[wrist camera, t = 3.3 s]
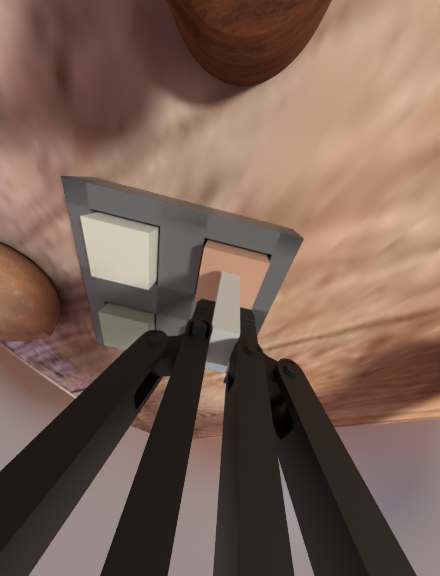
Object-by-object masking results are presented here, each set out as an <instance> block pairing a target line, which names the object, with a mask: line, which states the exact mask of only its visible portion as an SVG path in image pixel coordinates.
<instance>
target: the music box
mask: <svg viewBox="0 0 440 576" xmlns="http://www.w3.org/2000/svg"><path fill="white" fill-rule="evenodd" d="M167 1H168V3H169V6H170V8H171V11H172V13H173V16H174V18H175V21H176V23H177V26H178V28H179V31H180V33H181V35H182V37H183V40H184V41H185V43H186V45H187V47H188V49H189V50H190V52H191V53H192V55H193V56H194V58H195V59H196V60H197V61H198V63H199V64H200V65H201V66H202V67H203V68H204V69H205V70H206V71H207V72H208V73H210V74H211V75H212V76H214V77H215V78H217V79H219V80H221V81H223V82H225V83H228V84H232V85H238V86H247V85H254V84H258V83H261V82H263V81H266V80H268V79H270V78H272V77H273V76H275V75H277V74H278V73H280V72H281V71H282V70H283V69H285V68H286V67H287V66H288V65H289V64H290V63H291V62H292V61H293V60H294V59H295V58H296V57H297V56H298V55H299V54H300V52H301V51H302V50H303V49H304V47H305V46H306V45H307V43H308V42H309V40H310V39H311V37H312V36H313V34H314V33H315V31H316V29H317V28H318V26H319V24H320V22H321V20H322V18H323V16H324V15H325V13H326V11H327V9H328V7H329V5H330V3H331V1H332V0H167Z"/></svg>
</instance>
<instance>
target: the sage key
mask: <svg viewBox="0 0 440 576" xmlns="http://www.w3.org/2000/svg"><path fill="white" fill-rule="evenodd" d="M98 314H99V319H100V325H101V330H102V335H103V340H104V345H105V346H109V347H114V348H118V349H123V350H126V349H128V348H129V347H130V346H131V345H132V344H133V343H134V342H135V341H136V340H137V339H138V338H139V337H140V336H141V335H142V334H143V333H145V332H146V331H149V330H156V313H152V312H148V311H143V310H139V309H135V308H131V307H127V306H122V305H118V304H114V303H110V302H109V303H107V304H106V305H105V306H104V307H103V308H102V309H101V310H100V311H99V312H98Z"/></svg>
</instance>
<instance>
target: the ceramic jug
mask: <svg viewBox="0 0 440 576" xmlns="http://www.w3.org/2000/svg"><path fill="white" fill-rule="evenodd" d="M60 311H61V308H60V300H59V297H58V294H57V292H56V290H55V288H54V286H53V285H52V283H51V282H50V280H49V279H48V278H47V277H46V275H45V274H44V273H43V272H42V271H41V270H40V269H39V268H38V267H37V266H36V265H34V264H33V263H32V262H31V261H30V260H28V259H27V258H25V257H24V256H23V255H21V254H19V253H18V252H16V251H14V250H13V249H11V248H9V247H7V246H5V245H3V244H1V243H0V340H2V341H26V340H31V339H35V338H38V339H42V338H47V337H49V336H50V335H51V334H52V333H53V331H54V329H55V326H56V324H57V321H58V319H59V316H60Z"/></svg>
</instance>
